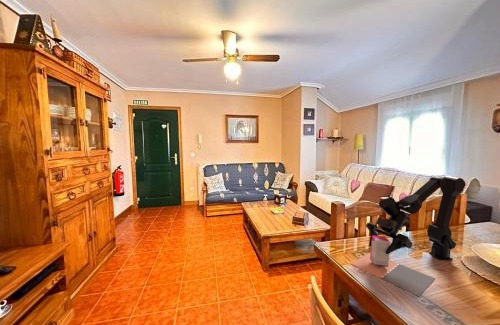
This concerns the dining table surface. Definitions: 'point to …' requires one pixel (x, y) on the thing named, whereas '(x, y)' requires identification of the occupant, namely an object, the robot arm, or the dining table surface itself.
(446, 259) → the robot arm
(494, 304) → the dining table surface
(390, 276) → the ticket mat
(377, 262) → the supplement box
